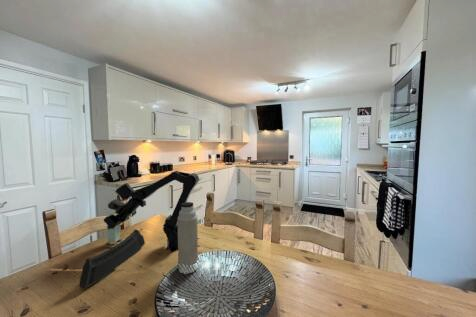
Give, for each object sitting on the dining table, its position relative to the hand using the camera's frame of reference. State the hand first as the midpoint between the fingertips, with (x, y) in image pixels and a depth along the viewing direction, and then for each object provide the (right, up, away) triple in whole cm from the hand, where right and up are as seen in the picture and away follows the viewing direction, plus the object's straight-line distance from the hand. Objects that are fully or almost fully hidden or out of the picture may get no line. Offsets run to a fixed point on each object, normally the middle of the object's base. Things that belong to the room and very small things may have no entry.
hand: (110, 227), depth 102 cm
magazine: (+13, -11, -16) cm, 24 cm away
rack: (+1, -10, +1) cm, 10 cm away
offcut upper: (+8, -9, 0) cm, 12 cm away
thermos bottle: (+44, -12, -18) cm, 49 cm away
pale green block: (+1, -7, 0) cm, 7 cm away
